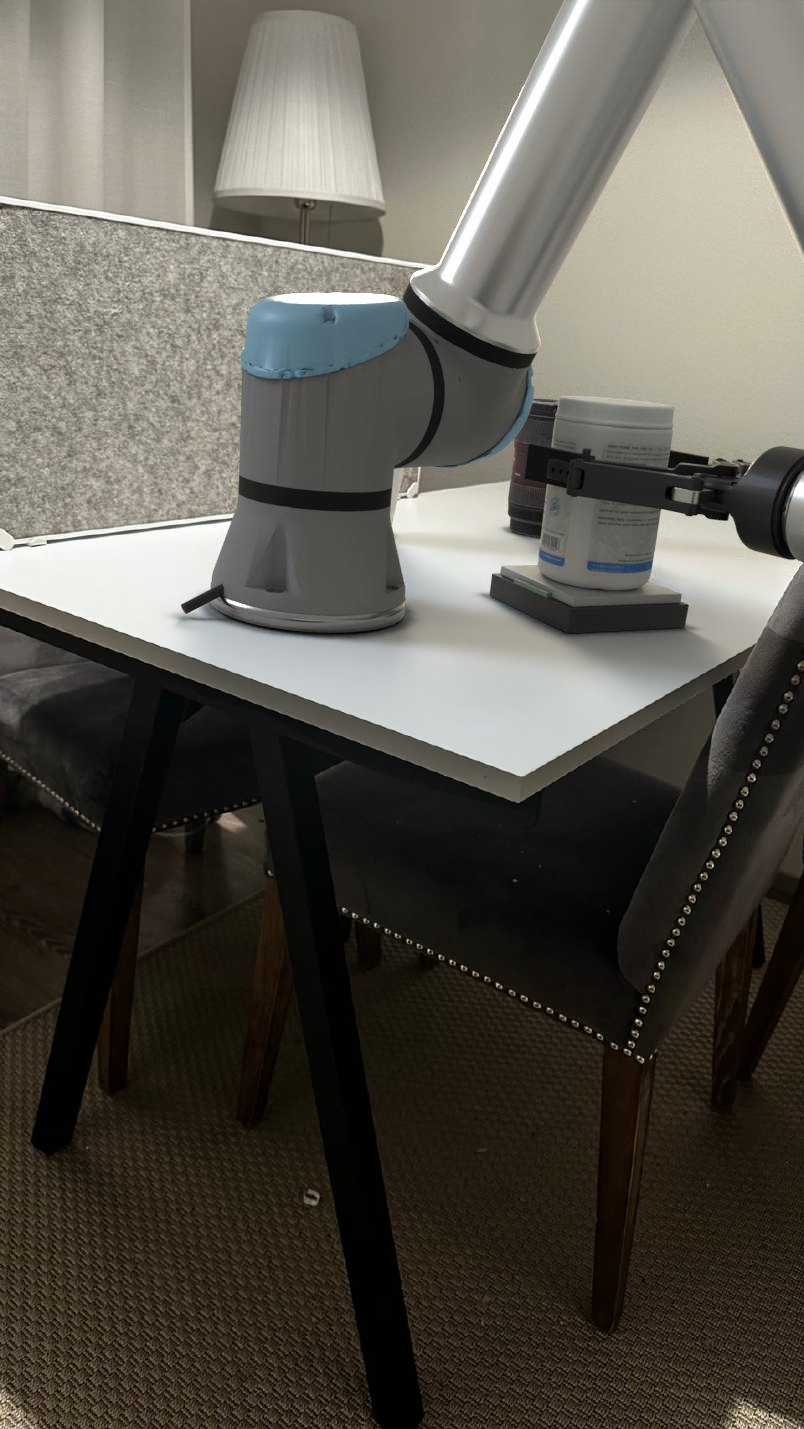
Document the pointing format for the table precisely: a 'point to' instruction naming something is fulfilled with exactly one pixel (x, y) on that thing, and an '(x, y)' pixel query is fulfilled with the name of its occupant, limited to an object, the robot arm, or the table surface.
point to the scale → (587, 603)
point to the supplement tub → (599, 533)
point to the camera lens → (523, 492)
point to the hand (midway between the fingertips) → (588, 461)
